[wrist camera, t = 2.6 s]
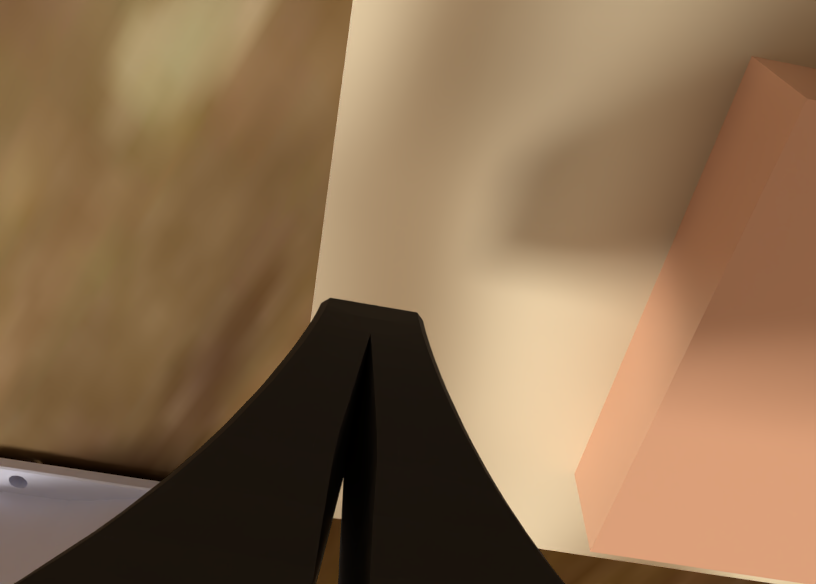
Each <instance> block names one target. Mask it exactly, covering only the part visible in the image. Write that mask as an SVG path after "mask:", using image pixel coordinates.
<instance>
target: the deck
mask: <svg viewBox="0 0 816 584" xmlns="http://www.w3.org/2000/svg"><path fill="white" fill-rule="evenodd" d="M752 56H754V57H759V58H764V59H769V60H774V61H779V62H785V63H790V64H795V65H800V66H805V67H810V68H815V69H816V0H353V4H352V12H351V19H350V27H349V34H348V42H347V50H346V57H345V65H344V72H343V80H342V87H341V95H340V102H339V110H338V118H337V125H336V133H335V140H334V148H333V155H332V163H331V170H330V178H329V186H328V193H327V201H326V208H325V216H324V223H323V231H322V239H321V246H320V254H319V261H318V269H317V276H316V284H315V291H314V299H313V307H312V314H311V321H312V319H313V318H314V316H315V314H316V312H317V311H318V308H319V306H320V304H321V303H322V302H324V301H325V300H327V299H329V298H336V299H341V300H347V301H353V302H359V303H365V304H371V305H377V306H383V307H389V308H395V309H400V310H406V311H412V312H417V313H418V314H419V316H420V317H421V318H422V320H423V322H424V326H425V330H426V334H427V337H428V340H429V343H430V347H431V349H432V352H433V355H434V358H435V361H436V363H437V366H438V368H439V371H440V374H441V376H442V379H443V381H444V383H445V386H446V388H447V391H448V393H449V395H450V397H451V399H452V402H453V404H454V406H455V408H456V410H457V412H458V415H459V417H460V419H461V421H462V423H463V425H464V427H465V429H466V431H467V433H468V435H469V437H470V439H471V441H472V443H473V445H474V447H475V449H476V450H477V452H478V454H479V456H480V458H481V459H482V461H483V463H484V465H485V467H486V469H487V470H488V472H489V474H490V476H491V477H492V479H493V481H494V482H495V484H496V486H497V487H498V489H499V491H500V492H501V494H502V496H503V497H504V499H505V500H506V502H507V504H508V505H509V507H510V508H511V510H512V511H513V513H514V514H515V516H516V517H517V519H518V520H519V522H520V523H521V525H522V526H523V528H524V529H525V531H526V532H527V534H528V535H529V536H530V538H531V539H532V541H533V542H534V543H535V545H536V546H537V548H538V549H545V550H552V551H558V552H565V553H572V554H579V555H585V556H592V557H599V558H605V559H612V560H619V561H626V562H632V563H639V564H646V565H652V566H659V567H666V568H673V569H679V570H686V571H693V572H699V573H706V574H713V575H720V576H726V577H733V578H740V579H746V580H753V581H760V582H767V583H773V584H803V583H797V582H790V581H783V580H776V579H770V578H763V577H756V576H750V575H743V574H736V573H730V572H723V571H716V570H710V569H703V568H696V567H689V566H683V565H676V564H669V563H663V562H656V561H649V560H643V559H636V558H629V557H622V556H616V555H609V554H602V553H596V552H590V548H589V543H588V538H587V534H586V529H585V524H584V519H583V514H582V509H581V504H580V499H579V495H578V490H577V485H576V480H575V475H574V474H575V471H576V469H577V467H578V464H579V462H580V460H581V457H582V455H583V452H584V450H585V448H586V445H587V443H588V441H589V438H590V436H591V434H592V431H593V429H594V427H595V424H596V422H597V420H598V417H599V415H600V412H601V410H602V408H603V405H604V403H605V401H606V398H607V396H608V394H609V391H610V389H611V387H612V384H613V382H614V379H615V377H616V375H617V372H618V370H619V368H620V365H621V363H622V361H623V358H624V356H625V354H626V351H627V349H628V346H629V344H630V342H631V339H632V337H633V335H634V332H635V330H636V328H637V325H638V323H639V321H640V318H641V316H642V313H643V311H644V309H645V306H646V304H647V302H648V299H649V297H650V295H651V292H652V290H653V288H654V285H655V283H656V280H657V278H658V276H659V273H660V271H661V269H662V266H663V264H664V262H665V259H666V257H667V255H668V252H669V250H670V247H671V245H672V243H673V240H674V238H675V236H676V233H677V231H678V229H679V226H680V224H681V222H682V219H683V217H684V215H685V212H686V210H687V207H688V205H689V203H690V200H691V198H692V196H693V193H694V191H695V189H696V186H697V184H698V182H699V179H700V177H701V174H702V172H703V170H704V167H705V165H706V163H707V160H708V158H709V156H710V153H711V151H712V149H713V146H714V144H715V141H716V139H717V137H718V134H719V132H720V130H721V127H722V125H723V123H724V120H725V118H726V116H727V113H728V111H729V108H730V106H731V104H732V101H733V99H734V97H735V94H736V92H737V90H738V87H739V85H740V83H741V80H742V78H743V75H744V73H745V71H746V68H747V66H748V64H749V61H750V59H751V57H752ZM310 323H311V322H310ZM342 496H343V482H342V486H341V489H340V493H339V497H338V501H337V505H336V509H335V513H334V517H333V518H337V519H341V516H342Z"/></svg>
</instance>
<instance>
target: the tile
mask: <svg viewBox="0 0 816 584" xmlns="http://www.w3.org/2000/svg"><path fill="white" fill-rule="evenodd" d="M574 475H575V480H576V485H577V490H578V495H579V499H580V504H581V509H582V514H583V519H584V524H585V529H586V534H587V538H588V543H589V548H590V552H596V553H602V554H609V555H616V556H622V557H629V558H636V559H643V560H649V561H656V562H663V563H669V564H676V565H683V566H689V567H696V568H703V569H710V570H716V571H723V572H730V573H736V574H743V575H750V576H756V577H763V578H770V579H776V580H783V581H790V582H797V583H803V584H816V69H815V68H810V67H805V66H800V65H795V64H790V63H785V62H779V61H774V60H769V59H764V58H759V57H754V56H752V57H751V59H750V61H749V64H748V66H747V68H746V71H745V73H744V75H743V78H742V80H741V83H740V85H739V87H738V90H737V92H736V94H735V97H734V99H733V101H732V104H731V106H730V108H729V111H728V113H727V116H726V118H725V120H724V123H723V125H722V127H721V130H720V132H719V134H718V137H717V139H716V141H715V144H714V146H713V149H712V151H711V153H710V156H709V158H708V160H707V163H706V165H705V167H704V170H703V172H702V174H701V177H700V179H699V182H698V184H697V186H696V189H695V191H694V193H693V196H692V198H691V200H690V203H689V205H688V207H687V210H686V212H685V215H684V217H683V219H682V222H681V224H680V226H679V229H678V231H677V233H676V236H675V238H674V240H673V243H672V245H671V247H670V250H669V252H668V255H667V257H666V259H665V262H664V264H663V266H662V269H661V271H660V273H659V276H658V278H657V280H656V283H655V285H654V288H653V290H652V292H651V295H650V297H649V299H648V302H647V304H646V306H645V309H644V311H643V313H642V316H641V318H640V321H639V323H638V325H637V328H636V330H635V332H634V335H633V337H632V339H631V342H630V344H629V346H628V349H627V351H626V354H625V356H624V358H623V361H622V363H621V365H620V368H619V370H618V372H617V375H616V377H615V379H614V382H613V384H612V387H611V389H610V391H609V394H608V396H607V398H606V401H605V403H604V405H603V408H602V410H601V412H600V415H599V417H598V420H597V422H596V424H595V427H594V429H593V431H592V434H591V436H590V438H589V441H588V443H587V445H586V448H585V450H584V452H583V455H582V457H581V460H580V462H579V464H578V467H577V469H576V471H575V474H574Z"/></svg>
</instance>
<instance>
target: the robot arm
mask: <svg viewBox="0 0 816 584" xmlns="http://www.w3.org/2000/svg"><path fill="white" fill-rule="evenodd" d="M342 482H343V496H342V516H341V537H340V558H339V579H338V584H565V583H564V582H563V581H562V580H561V578H560V577H559V576H558V575H557V573H556V572H555V571H554V570H553V568H552V567H551V566H550V564H549V563H548V561H547V560H546V559H545V557H544V556H543V554H542V553H541V552H540V550H539V549H538V548H537V546H536V545H535V543H534V542H533V541H532V539H531V538H530V536H529V535H528V534H527V532H526V531H525V529H524V528H523V526H522V525H521V523H520V522H519V520H518V519H517V517H516V516H515V514H514V513H513V511H512V510H511V508H510V507H509V505H508V504H507V502H506V500H505V499H504V497H503V496H502V494H501V492H500V491H499V489H498V487H497V486H496V484H495V482H494V481H493V479H492V477H491V476H490V474H489V472H488V470H487V469H486V467H485V465H484V463H483V461H482V459H481V458H480V456H479V454H478V452H477V450H476V449H475V447H474V445H473V443H472V441H471V439H470V437H469V435H468V433H467V431H466V429H465V427H464V425H463V423H462V421H461V419H460V417H459V415H458V412H457V410H456V408H455V406H454V404H453V402H452V399H451V397H450V395H449V393H448V391H447V388H446V386H445V383H444V381H443V379H442V376H441V374H440V371H439V368H438V366H437V363H436V361H435V358H434V355H433V352H432V349H431V347H430V343H429V340H428V337H427V334H426V330H425V326H424V322H423V320H422V318H421V317H420V316H419V314H418V313H417V312H412V311H406V310H400V309H395V308H389V307H383V306H377V305H371V304H365V303H359V302H353V301H347V300H341V299H336V298H329V299H327V300H325V301H324V302H322V303H321V304H320V306H319V308H318V311H317V312H316V314H315V316H314V318H313V319H312V321H311V323H310V324H309V326H308V327H307V329H306V330H305V332H304V333H303V335H302V336H301V337H300V339H299V340H298V342H297V343H296V344H295V346H294V347H293V348H292V350H291V351H290V352H289V354H288V355H287V356H286V357H285V358H284V360H283V361H282V362H281V363H280V365H279V366H278V367H277V368H276V369H275V371H274V372H273V373H272V374H271V375H270V377H269V378H268V379H267V380H266V382H265V383H264V384H263V385H262V386H261V387H260V388H259V389H258V391H257V392H256V393H255V394H254V395H253V396H252V397H251V398H250V399H249V400H248V401H247V402H246V403H245V404H244V405H243V406H242V407H241V408H240V409H239V410H238V411H237V413H236V414H235V415H234V416H233V417H232V418H231V419H230V420H229V421H228V422H227V423H226V424H225V425H224V426H223V427H222V428H221V429H220V430H219V431H218V432H217V433H216V434H215V435H214V436H212V437H211V438H210V439H209V440H208V441H207V442H206V443H205V444H204V445H203V446H202V447H201V448H200V449H198V450H197V451H196V452H195V453H194V454H193V455H192V456H190V457H189V458H188V459H187V460H186V461H185V462H184V463H182V464H181V465H180V466H179V467H178V468H177V469H175V470H174V471H173V472H172V473H171V474H169V475H168V476H167V477H166V478H165V479H163V480H162V481H161V482H160V481H153V480H146V479H140V478H133V477H126V476H120V475H113V474H106V473H100V472H93V471H86V470H80V469H73V468H66V467H60V466H53V465H46V464H40V463H33V462H26V461H20V460H13V459H6V458H0V584H316V582H317V578H318V574H319V571H320V567H321V563H322V559H323V555H324V551H325V547H326V544H327V540H328V536H329V532H330V528H331V524H332V520H333V517H334V513H335V509H336V505H337V501H338V497H339V493H340V489H341V486H342Z"/></svg>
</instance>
